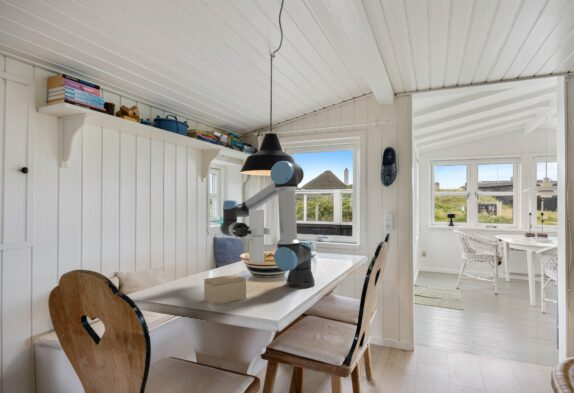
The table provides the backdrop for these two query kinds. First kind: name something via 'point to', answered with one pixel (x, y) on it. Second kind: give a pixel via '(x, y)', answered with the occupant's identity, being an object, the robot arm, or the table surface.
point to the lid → (224, 279)
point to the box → (224, 292)
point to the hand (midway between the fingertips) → (262, 232)
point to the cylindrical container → (256, 236)
